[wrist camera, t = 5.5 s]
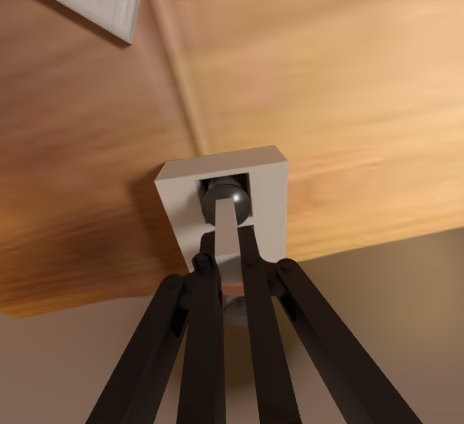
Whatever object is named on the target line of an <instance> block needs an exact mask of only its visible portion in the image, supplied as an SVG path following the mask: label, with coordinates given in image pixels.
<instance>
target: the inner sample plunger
mask: <svg viewBox="0 0 464 424" xmlns="http://www.w3.org/2000/svg"><path fill="white" fill-rule="evenodd" d="M227 198H233V201H234V208H235V215H236V221H237V226H239V225H241V224H242V223H243V222H244V221H245V220H246V219H247V218H248V216H249V214H250V210H251V205H250V201H249V197H248V195H247V193H246V192H245V191H244V190H243V189H242V185H241V181H240V177H239V175H238V174H234V175H227V176H220V177H214V178H209V182H208V191H207V192H206V194H205V195H204V197H203V201H202V214H203V216H204V218H205V220H206V221H207V222H208V223H209V224H211V225H212V226H215V215H216V200H220V199H227Z"/></svg>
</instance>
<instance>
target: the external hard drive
mask: <svg viewBox="0 0 464 424" xmlns="http://www.w3.org/2000/svg"><path fill="white" fill-rule="evenodd" d="M56 1H58V2H59V3H61V4H63V5H64V6H66V7H68V8H70V9H71V10H73V11H75V12H76V13H78V14H80V15H81V16H83V17H85V18H87V19H88V20H90V21H92V22H93V23H95V24H97V25H98V26H100V27H102V28H104V29H105V30H107V31H109V32H110V33H112V34H114V35H115V36H117V37H119V38H121V39H122V40H124V41H126V42H127V43H130V44H132V42H133V37H134V31H135V26H136V21H137V16H138V11H139V6H140V1H141V0H56Z"/></svg>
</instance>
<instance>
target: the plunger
mask: <svg viewBox="0 0 464 424" xmlns="http://www.w3.org/2000/svg"><path fill="white" fill-rule="evenodd" d="M226 298H227V304H226V305H225V307H224V310H223V312H224V320H225V321H226V322H227V323H228V324H230V325H233V326H248V320H247V312H246V303H245V295H243V296H227V295H226Z"/></svg>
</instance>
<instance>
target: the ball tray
mask: <svg viewBox="0 0 464 424" xmlns="http://www.w3.org/2000/svg"><path fill="white" fill-rule="evenodd" d="M240 173H245V178H246V187H247V195H248V197H249V201H250V205H251V210H250V214H249V216H248V218H247V219H246V220H245V221H244V222H243V223H242V224H241V225H239V226H237V227H241V226H248V225H250V226H251V228H252V229H253V230H254V233H255V237H256V241H257V245H258V249H259V254H260V256H261V257H262V259H264V260H265V261H268V262H273V263H277V262H278V261H279V260H280V259H284V258H286V224H287V187H288V160H287V159H286V158H285V157H284V155H283V154H282V153H281V152H280V151H279V150H278V149H277V147H276V146H275V145H273V146H266V147H260V148H253V149H247V150H240V151H233V152H227V153H220V154H214V155H207V156H201V157H194V158H188V159H181V160H174V161H168V162H166V163H165V164H164V166H163V168H162V169H161V171H160V172H159V174H158V176H157V177H156V179H155V180H154V182H155V185H156V187H157V190H158V192H159V195H160V198H161V200H162V203H163V205H164V208H165V210H166V213H167V216H168V218H169V221H170V223H171V226H172V228H173V231H174V234H175V236H176V239H177V241H178V244H179V246H180V249H181V252H182V254H183V257H184V259H185V262H186V264H187V267H188V269H189V272H190V273H191V272H193V271H194V267H193V264H192V262H191V261H192V258H193V257H194V256H195V255H196V254H197V253H199V251H200V241H201V237H202V235H203V234H204V233H208V232H215V226H212V225H211V224H209V223H208V222H207V221H206V220H205V218H204V216H203V214H202V201H203V197H204V195H205V194H206V191H205V187H204V182H203V179H207V178H214V177H220V176H227V175H234V174H240Z"/></svg>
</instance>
